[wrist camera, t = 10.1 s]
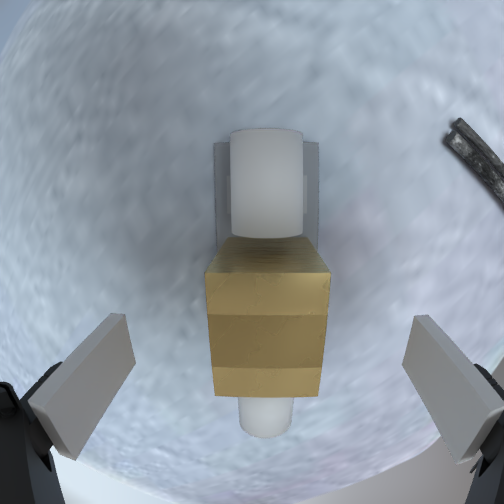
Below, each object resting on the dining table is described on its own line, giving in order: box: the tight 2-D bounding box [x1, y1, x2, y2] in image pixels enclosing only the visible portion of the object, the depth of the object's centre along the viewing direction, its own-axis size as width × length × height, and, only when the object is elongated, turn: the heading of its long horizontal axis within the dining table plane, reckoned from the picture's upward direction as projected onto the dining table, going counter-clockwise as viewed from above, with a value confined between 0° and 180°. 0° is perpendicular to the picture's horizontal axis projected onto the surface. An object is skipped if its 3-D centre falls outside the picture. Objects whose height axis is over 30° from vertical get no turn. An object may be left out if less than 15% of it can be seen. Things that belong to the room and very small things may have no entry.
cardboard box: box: [205, 237, 331, 398], centre depth 18 cm, size 7×6×8 cm
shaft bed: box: [214, 128, 319, 438], centre depth 19 cm, size 20×7×6 cm, turn 1°
